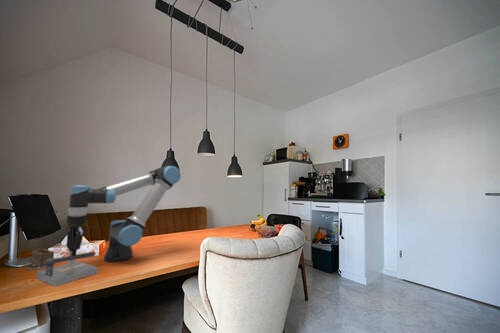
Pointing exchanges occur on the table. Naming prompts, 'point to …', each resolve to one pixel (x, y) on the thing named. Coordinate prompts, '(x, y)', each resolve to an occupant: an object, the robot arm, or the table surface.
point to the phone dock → (41, 257)
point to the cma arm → (68, 258)
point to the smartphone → (34, 267)
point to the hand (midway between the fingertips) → (71, 263)
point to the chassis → (65, 273)
